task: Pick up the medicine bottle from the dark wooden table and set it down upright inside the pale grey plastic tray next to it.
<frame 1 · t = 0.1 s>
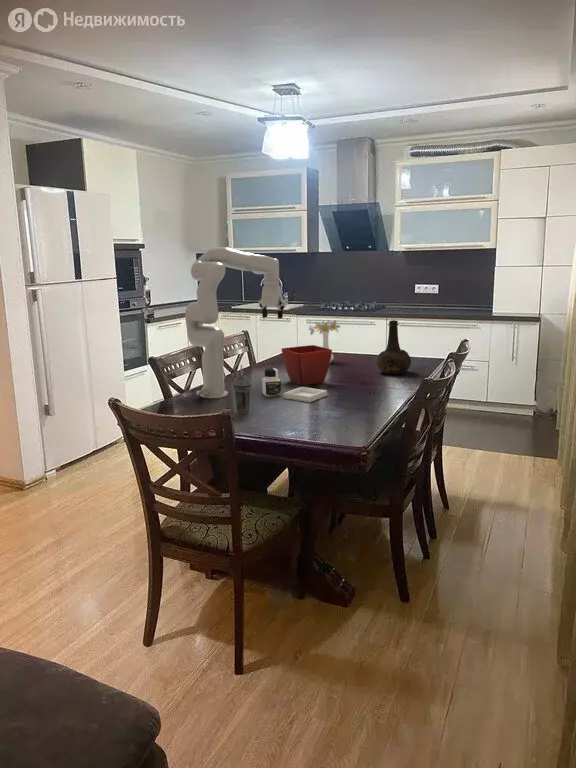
hand: (272, 317, 295), 31 cm above the table, tool pointing down, fingers open, 9 cm apart
flower vase: (324, 363, 341), on the table
plant pot: (306, 382, 291), on the table
beverage cup: (243, 412, 238), on the table
tray: (305, 397, 261), on the table
medicine bottle: (271, 394, 267), on the table
glass bottle: (393, 373, 309), on the table
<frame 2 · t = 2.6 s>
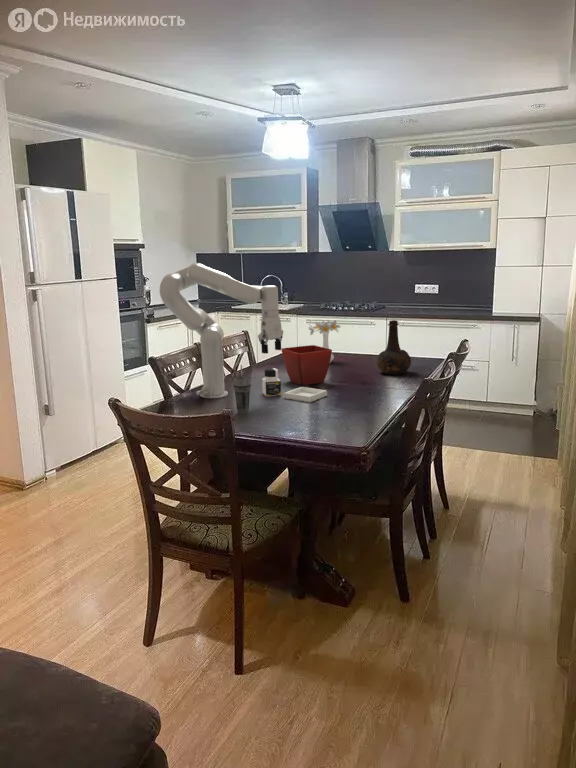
hand: (271, 351, 263), 20 cm above the table, tool pointing down, fingers open, 9 cm apart
nothing on the table moved.
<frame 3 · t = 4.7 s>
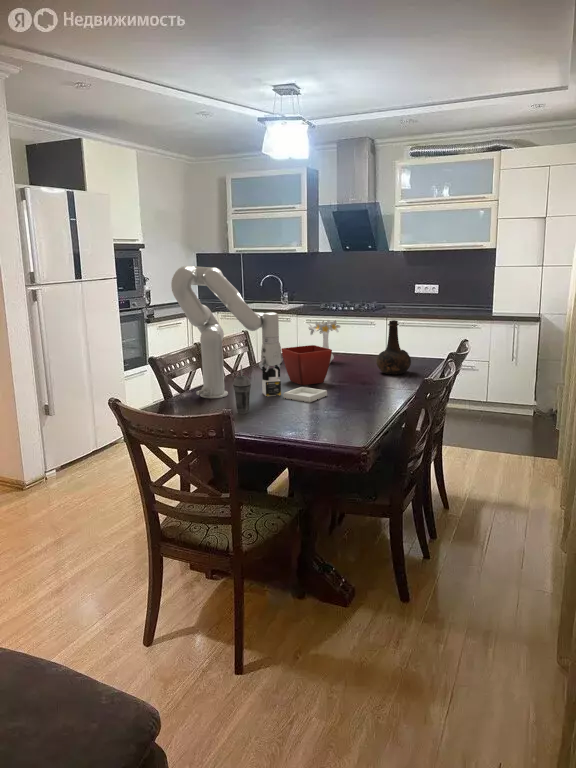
hand: (271, 378, 265), 8 cm above the table, tool pointing down, fingers closed on medicine bottle, 7 cm apart
medicine bottle: (271, 394, 267), on the table, touching gripper
everything else where it was.
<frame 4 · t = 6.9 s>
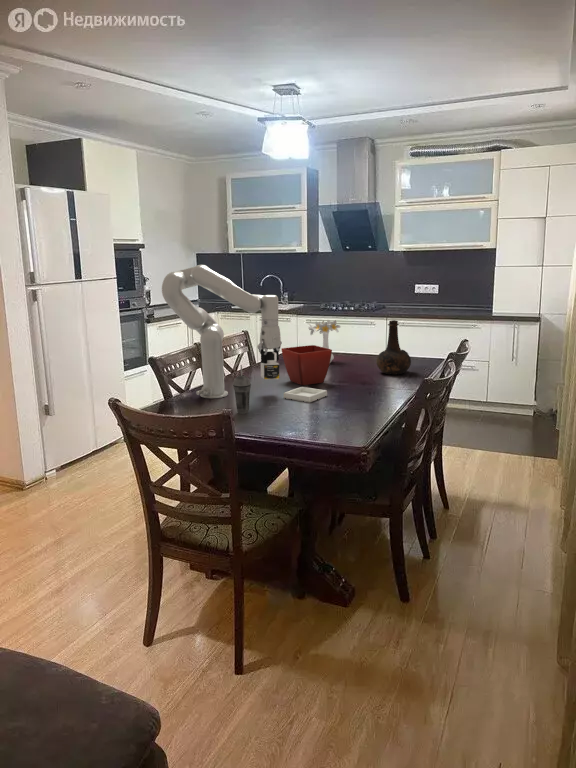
hand: (269, 361, 264), 15 cm above the table, tool pointing down, fingers closed on medicine bottle, 7 cm apart
medicine bottle: (269, 378, 265), point 8 cm above the table, touching gripper
everything else where it was.
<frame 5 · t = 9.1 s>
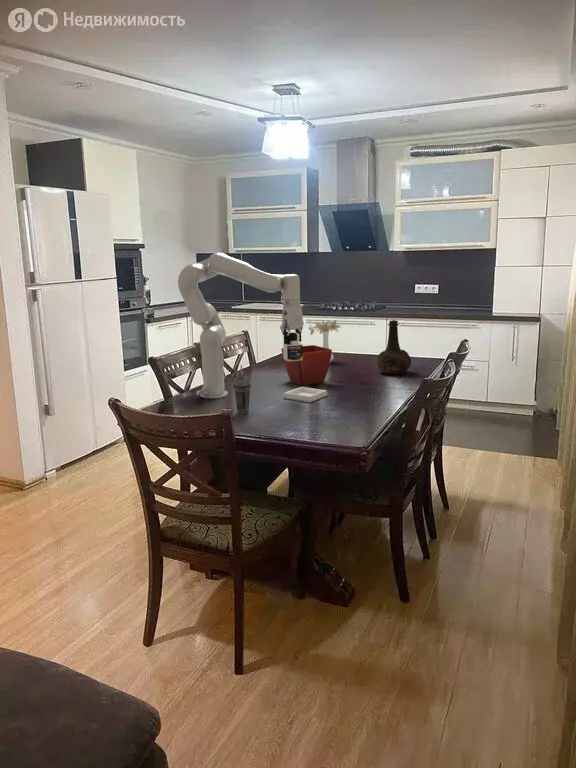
hand: (292, 342, 258), 24 cm above the table, tool pointing down, fingers closed on medicine bottle, 7 cm apart
medicine bottle: (293, 360, 260), point 17 cm above the table, touching gripper
everything else where it was.
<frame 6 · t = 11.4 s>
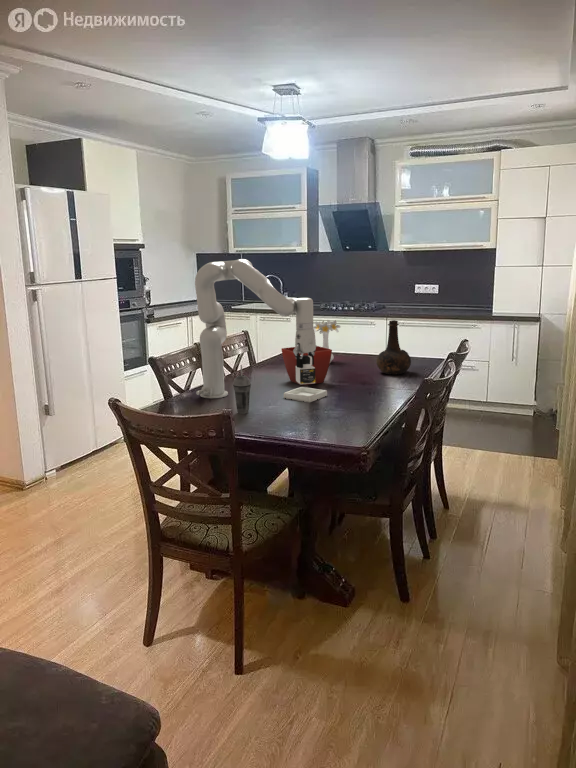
hand: (305, 365, 258), 14 cm above the table, tool pointing down, fingers closed on medicine bottle, 7 cm apart
medicine bottle: (305, 382, 259), point 7 cm above the table, touching gripper
everything else where it was.
when the fingers open (10 cm above the table, at t = 13.3 s): medicine bottle drops 2 cm, resting on tray.
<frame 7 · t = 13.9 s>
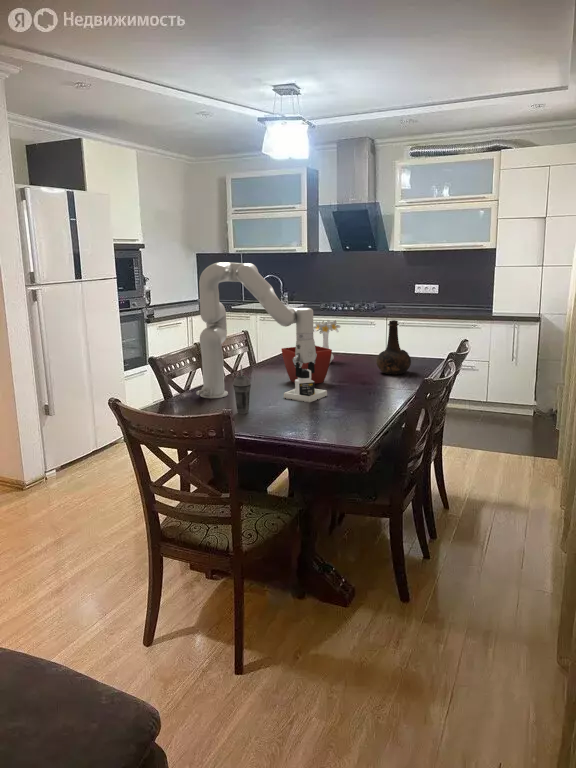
hand: (305, 374, 259), 10 cm above the table, tool pointing down, fingers open, 9 cm apart
medicine bottle: (304, 396, 261), resting on tray
everything else where it was.
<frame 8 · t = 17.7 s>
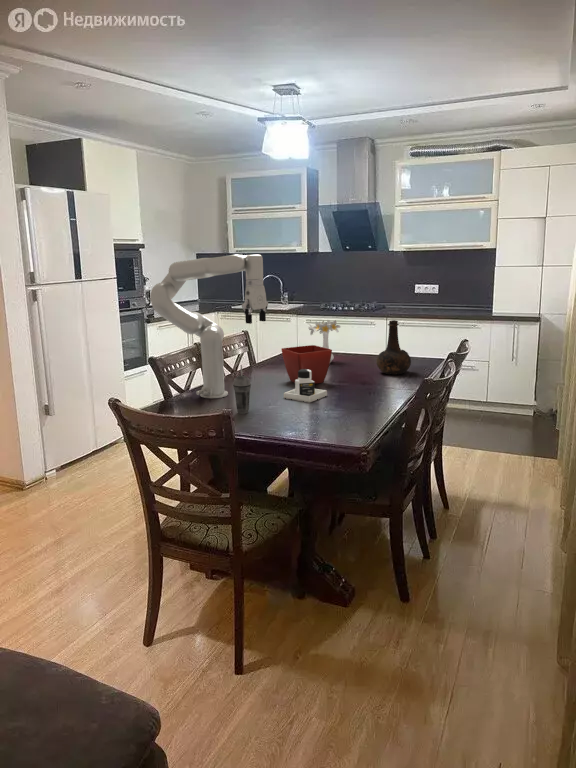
hand: (255, 322, 259), 33 cm above the table, tool pointing down, fingers open, 9 cm apart
nothing on the table moved.
at the end: medicine bottle inside the target area on the tray (0.2 cm from its centre), point 0.3 cm above the tray's base; medicine bottle tilted 0°; the gripper is holding nothing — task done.
